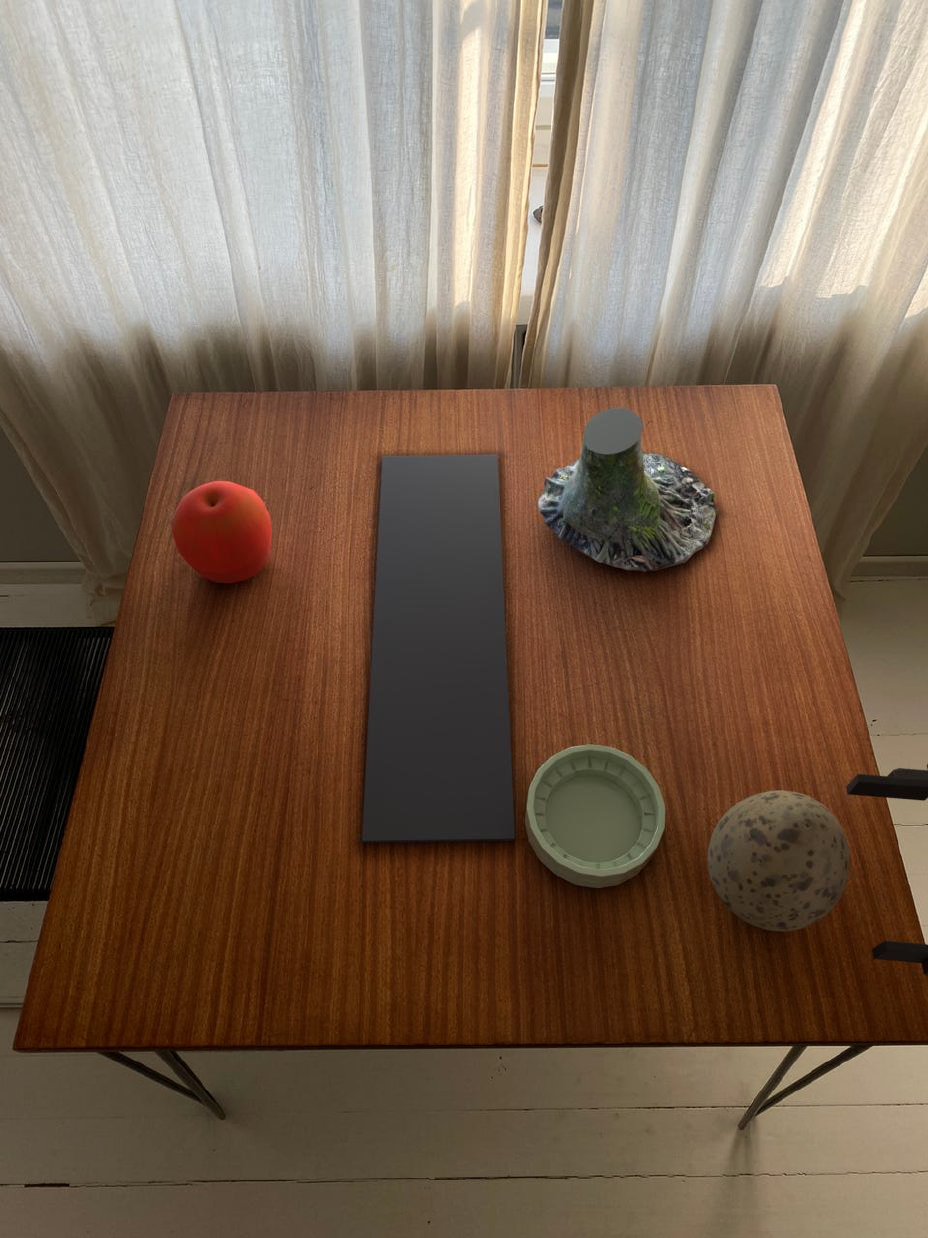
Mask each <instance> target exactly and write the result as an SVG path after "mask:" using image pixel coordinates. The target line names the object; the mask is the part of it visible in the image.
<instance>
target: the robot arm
mask: <svg viewBox="0 0 928 1238" xmlns="http://www.w3.org/2000/svg"><path fill="white" fill-rule="evenodd" d="M926 768H927V769H916V768H904V767H897V768H894V769H892V771H890V773H889V774H888V775H877V774H863V773H857V774H856V775H855V776H854V777H853V778H852V780H850V782H848V784H846V785H845V788H846V794H847V795H848V796H861V797H874V798H887V799H899V800H910V801H920V802H921V801H923V802H924V801H926V800H927V799H928V763H927V764H926ZM871 953H872V959H873V960H881V961H893V962H904V963H911V964H913V963H914V964H921V966H922V967H921V968H922V973H923V975H924V976H927V977H928V944H926V943H916V942H905V941H894V940H883V941H882V942H880V943H878V944H876V946H874V947H873V948H871Z"/></svg>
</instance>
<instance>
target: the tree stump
mask: <svg viewBox="0 0 928 1238" xmlns="http://www.w3.org/2000/svg"><path fill="white" fill-rule="evenodd" d="M643 430H644V425H643V420H642V419H641V418H640V417H639V415H637V414H636V412H634V411H632V410H630V409H629V408H627V407H619V406H615V407H610V408H605V409H604V410H601V411H599V412H598V413H596V414H594V415H593V416H592V417H591V418H590V419H589V420H588V421H587V423H586V425H585V426H584V430H583V437H582V444H581V448H580V449H581V450H580V457H579V458H578V459H576V460H575V461H573V462H572V463H570V465H565V467H563V468H562V467H558V468H556V469H555V470H554V471H553V475H551V478H550V477H545V478H544V483H543V485H544V489H543V490H542V493H541V495H540V496H539V498H538V501H537V503H538V507H537V508H538V512H539V513H540V514H541V515H542V517H543V520H544V524H546V526H547V527H548V529H550V530H552V531H553V532H554V534H555V535H556V536H557V538H558V539H559V540H561V541H562V542H563V543H566V544H568V545H570V546H571V547H572V548H574V549H575V550H576V551H578V552H581V553H582V554H584V555H585V556H587V557H589V558H591V559H592V560H594V561H596V562H597V563H602V564H604V565H607V566H611V567H613V568H619V569H622V570H626V571H638V572H643V573H646V572H657V571H660V570H663V569H666V568H671V567H675V566H678V565H681V564H682V565H683V564H685V563H686V562H687V561H688V560H689V559H690V558H691V557H692V556H693V555H694V554H696V553H697V552H699V551H701V550H702V549H704V547H705V546H707V545H708V544H709V542H710V539H711V537H712V532H713V528H714V525H715V520H716V516H717V512H718V510H717V508H716V506H715V504H714V501H715V500H716V492H715V491H712V489H711V488H709V487H708V488H707V487H706V484H705V483H704V482H703V481H702V480H701V479H700V478H699V477H697V476H695V475H694V474H693V473H692V470H690V469H688V468H687V467H684V466H682V465H680V464H679V463H677V462H675V461H674V460H672V459H670V458H669V457H667V456H665V455H663V454H658V453H650V452H649V453H648V452H645V451H643V447H642V437H643Z"/></svg>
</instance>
